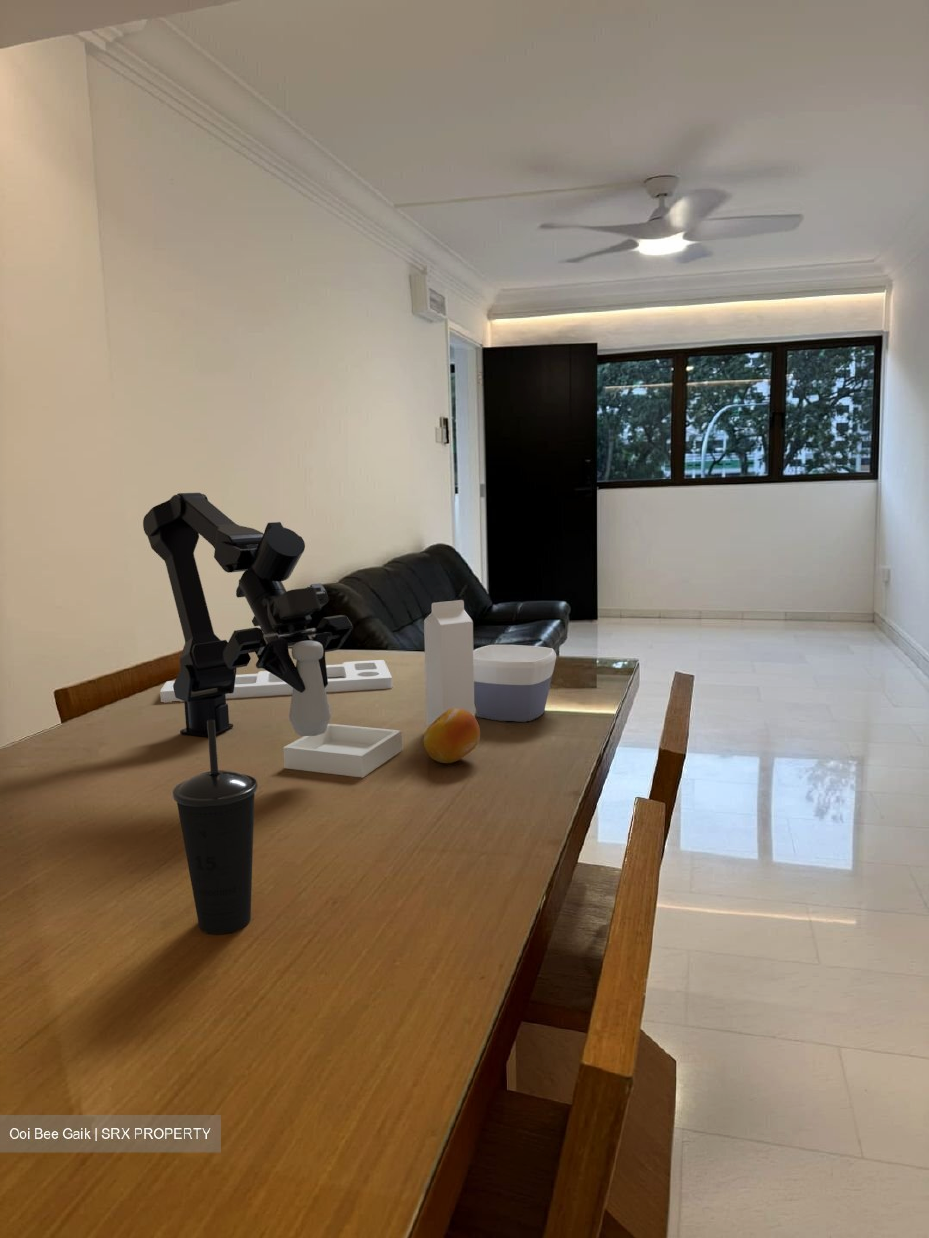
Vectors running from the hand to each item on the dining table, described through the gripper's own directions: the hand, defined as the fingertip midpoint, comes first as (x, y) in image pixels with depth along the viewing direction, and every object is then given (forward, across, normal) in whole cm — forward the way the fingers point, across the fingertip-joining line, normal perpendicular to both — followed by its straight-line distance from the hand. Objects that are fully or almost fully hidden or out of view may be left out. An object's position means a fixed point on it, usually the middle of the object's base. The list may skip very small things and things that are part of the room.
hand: (314, 688), depth 120 cm
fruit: (+15, +18, +4) cm, 24 cm away
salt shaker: (+4, 0, +6) cm, 7 cm away
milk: (+7, +28, +12) cm, 31 cm away
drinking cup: (+29, -29, -11) cm, 42 cm away
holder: (-28, +26, +49) cm, 62 cm away
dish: (+6, +8, +12) cm, 16 cm away
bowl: (+7, +44, +12) cm, 46 cm away
